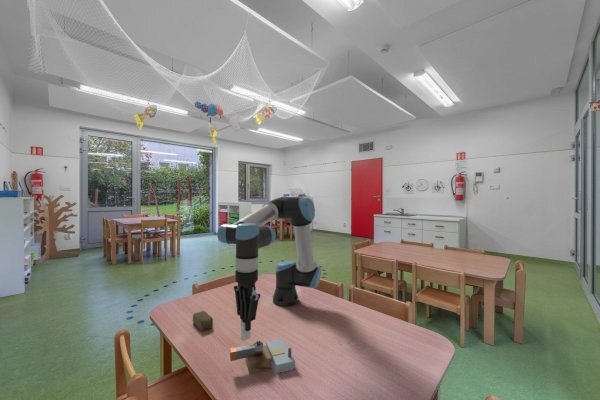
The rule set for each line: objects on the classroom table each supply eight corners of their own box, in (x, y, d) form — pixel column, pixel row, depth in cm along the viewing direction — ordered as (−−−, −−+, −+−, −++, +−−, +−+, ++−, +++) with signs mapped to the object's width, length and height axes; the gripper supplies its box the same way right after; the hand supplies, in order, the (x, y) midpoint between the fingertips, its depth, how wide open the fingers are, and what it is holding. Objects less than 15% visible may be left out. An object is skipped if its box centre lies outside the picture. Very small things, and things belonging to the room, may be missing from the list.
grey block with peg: (282, 345, 106) (282, 331, 106) (294, 368, 92) (295, 352, 92) (266, 349, 103) (266, 334, 103) (276, 373, 89) (276, 356, 89)
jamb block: (266, 355, 99) (266, 345, 99) (271, 368, 92) (271, 357, 92) (245, 360, 96) (245, 349, 96) (249, 374, 89) (249, 362, 89)
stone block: (201, 332, 115) (201, 321, 115) (192, 323, 124) (192, 313, 124) (213, 328, 119) (213, 317, 119) (203, 319, 128) (203, 309, 127)
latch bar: (261, 349, 96) (262, 338, 96) (264, 354, 93) (264, 343, 93) (229, 356, 92) (230, 344, 92) (230, 362, 89) (231, 350, 88)
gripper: (267, 271, 83) (266, 342, 84) (245, 263, 93) (244, 327, 93) (247, 276, 78) (246, 351, 79) (227, 267, 88) (226, 335, 88)
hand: (245, 338), depth 86 cm, fingers closed
